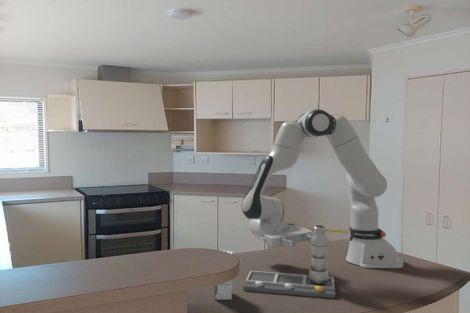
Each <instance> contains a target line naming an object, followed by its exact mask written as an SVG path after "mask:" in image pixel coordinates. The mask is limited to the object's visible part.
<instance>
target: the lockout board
mask: <svg viewBox="0 0 470 313" xmlns="http://www.w3.org/2000/svg"><path fill="white" fill-rule="evenodd" d="M242 291H243V292H256V293H267V294H268V293H269V294H276V295H277V294H280V295H288V294H289V295H290V296H299V295H300V297H302V296H303V297H314V298H325V299H326V298H327V299H336V288H335V279H334V276H329V277H328V281H327V283H325V284H314V283H312V282H311V281H310V279H309V274H300V273H286V272H273V271H261V270H260V271H257V270H250V271H249V273H248V275H247V277H246V279H245V281H244V283H243V288H242Z"/></svg>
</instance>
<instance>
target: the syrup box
mask: <svg viewBox="0 0 470 313" xmlns="http://www.w3.org/2000/svg"><path fill="white" fill-rule="evenodd" d="M222 251H223V252H227V253H230V254H233V255H234V251H232V250H222ZM233 289H234V279H233V280H231V281H229V282H226V283H223V284H221V285H218V286H215V285H214V297H213V298H214V300H217V301H218V300H219V301H220V300H224V301H226V300H232V299H233V292H234V291H233Z"/></svg>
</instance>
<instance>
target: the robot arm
mask: <svg viewBox="0 0 470 313" xmlns="http://www.w3.org/2000/svg"><path fill="white" fill-rule="evenodd" d="M323 136H325V137H326V138H327V139H328V141H329V143H330V145H331V147H332V149H333V151H334V153H335V155H336V157H337V159H338V160H339V163H340V164H341V166H342V167H343V168H344V169H345V171H346V172H347V173H346V175H345V184H346V186H347V191H348V192H347V193H348V199H349V205H350V226H349V228H348V238H349V244H348V249H347V254H346V257H345V261H347V262H348V263H350V264H354V265H356V266H360V267H362V268H365V269H402V268H404V261H403V259H401V258H399V257H398V254H397V250H396V248H395V246H394V245H392V244H391V243H390V242H389V241H387V240H386V239H385V237H386V236H387V235H386V232H385V231H383V230H382V229H381V228H379V207H378V206H377V202H376V198H377V197H381V196H383V195H384V193H385V192H386V191H387V188H388V181H387V178H386V177H385V176H384V175H383V174H382V173H381V171H380V170H379V168H377V166H376V164H375V163H374V162H373V160H372V159H371V158H370V156H369V154H368V152H366V150H365V148H364V145H363V144H362V142H361V140H360V138H359V136H358V134H357V132H356V130H355V129H354V127H353V125H352V123H350V120H348V118H347V117H346V116H344V115H338V114H337V115H334V116H333V115H332V114H330V113H329V112H328V111H325V110H324V109H317V108H316V109H311V110H309V111H307V112H304V113H303V114H301V115H300V116H299V117H298V118H297V120H295V121H291V120H288V121H284V122H283V123H282V124H281V125H280V127H279V130H278V131H277V134H276V136H275V139H274V144H273V146H272V149H271V150H270V152H269V154H268V155H267V156H264V157H263V159H262V160H261V162H260V164H259V166H258V169H257V170H256V173H255V174H254V176H253V180H252V181H251V184H250V187H249V189H248V191H247V193H245V196H244V197H243V199H242V202H241V205H240V206H241V210H242V213H243V215H244V217H245V218H247V219H249V220H250V221H249V223H248V229H249V232H250V234H252V235H253V236H254V237H255V238H257V239H259V240H261V241H264V242H263V243H264V244H265V245H266V246H269V247H271V248H279V247H284V246H286V247H287V246H288V247H295V245H296V244H299V243H305V242H308V243H310V239H311V237H312V236H313V234H314V231H313V230H311V229H309V228H306V227H304V226H299V225H298V224H297V223H284V222H282V221H283V218H284V215H285V205H284V203H283V201H282V200H281V199H280V198H278V197H272V196H266V195H263V192H265V191H264V190H265V189H266V186H267V184H268V181H269V179H270V177H271V176H272V175H273V174H275V173H277V172H280V171H285V170H288V169H291V168H292V167H294V166H295V165H296V163H297V161H299V160H298V159H299V156H300V152H301V148H302V145H303V142H304V140H306V138H318V137H323Z"/></svg>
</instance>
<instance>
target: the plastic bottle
mask: <svg viewBox="0 0 470 313" xmlns="http://www.w3.org/2000/svg"><path fill="white" fill-rule="evenodd" d="M329 240H330V239H329V237H328V236H327V235H326V226H325V225H319V224H317V225H316V224H315V225H314V226H313V236H312V237H311V239H310V242H309V245H310V258H311V260H310V267H309V268H310V269H309V273H308V275H309V279H310V281H311V282H312V283H314V284H325V283H327V281H328V277H330V276H329V272H328V253H329V252H328V251H329V246H330V241H329Z"/></svg>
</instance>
